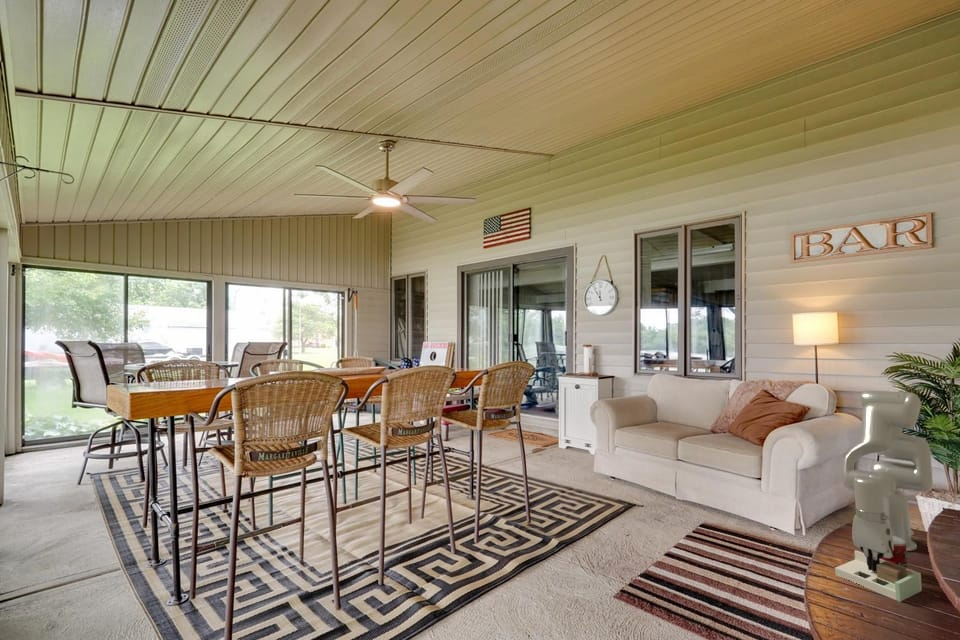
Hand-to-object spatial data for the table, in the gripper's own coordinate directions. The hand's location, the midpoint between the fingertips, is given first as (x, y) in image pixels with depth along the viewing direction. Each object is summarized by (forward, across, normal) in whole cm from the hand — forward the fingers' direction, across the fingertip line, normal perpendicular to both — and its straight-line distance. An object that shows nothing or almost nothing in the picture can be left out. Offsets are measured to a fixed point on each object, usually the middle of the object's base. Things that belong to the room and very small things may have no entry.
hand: (873, 569), depth 156 cm
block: (+1, -5, 0) cm, 5 cm away
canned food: (+3, 0, -11) cm, 12 cm away
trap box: (+3, -2, +2) cm, 4 cm away
